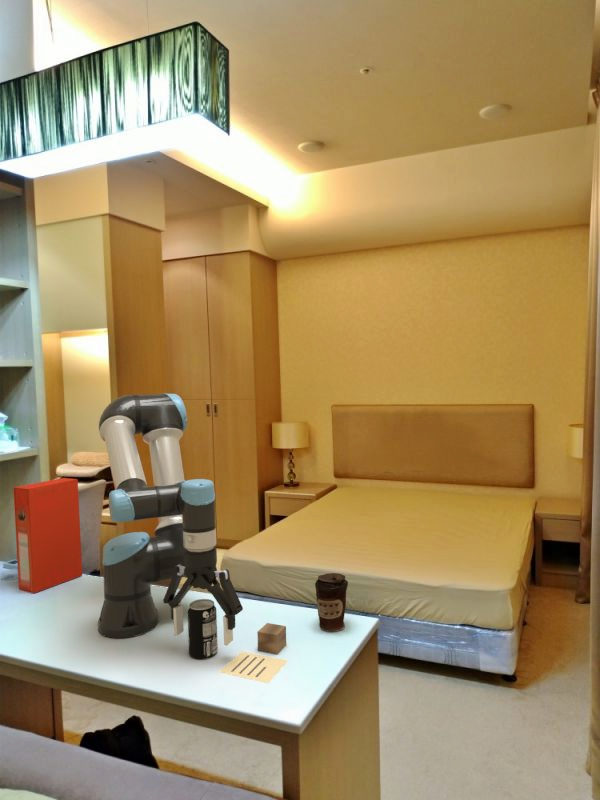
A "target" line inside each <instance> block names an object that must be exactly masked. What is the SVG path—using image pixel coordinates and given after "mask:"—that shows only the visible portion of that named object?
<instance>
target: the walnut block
mask: <svg viewBox="0 0 600 800" xmlns="http://www.w3.org/2000/svg"><path fill="white" fill-rule="evenodd" d="M256 634H257V651H258V652H262V653H267V654H272V655H278V654H280V652H281V651H283V649H284V648H285V647H286V646H287V626H286V625H280V624H275V623H270V622H267V623H265V624H264V625H263V626H262V627H261V628H260V629H259V630H257V633H256Z"/></svg>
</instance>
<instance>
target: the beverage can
mask: <svg viewBox="0 0 600 800" xmlns="http://www.w3.org/2000/svg"><path fill="white" fill-rule="evenodd" d="M217 617H218V615H217V608H216V606H215V602H214V600H212V599H208V598H207V599H206V598H201V599H195V600H193V601H191V602H190V603H189V608H188V610H187V630H188V631H187V633H188V635H187V636H188V637H187V638H188V654H189V655H190V657H191V658H193V659H196V660H206V659H210V658H212V657H214V656H215V655H216V654H217V652H218V650H219V649H218V622H217V621H218V620H217Z"/></svg>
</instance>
